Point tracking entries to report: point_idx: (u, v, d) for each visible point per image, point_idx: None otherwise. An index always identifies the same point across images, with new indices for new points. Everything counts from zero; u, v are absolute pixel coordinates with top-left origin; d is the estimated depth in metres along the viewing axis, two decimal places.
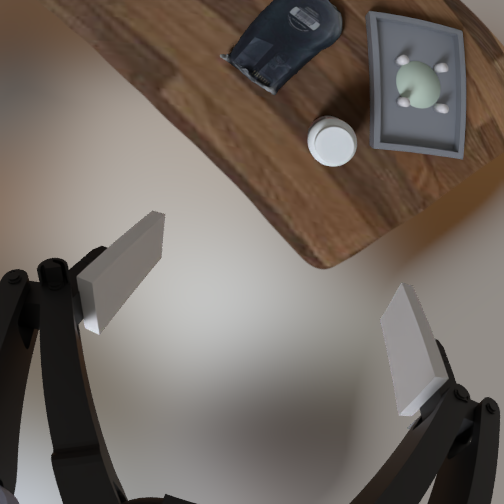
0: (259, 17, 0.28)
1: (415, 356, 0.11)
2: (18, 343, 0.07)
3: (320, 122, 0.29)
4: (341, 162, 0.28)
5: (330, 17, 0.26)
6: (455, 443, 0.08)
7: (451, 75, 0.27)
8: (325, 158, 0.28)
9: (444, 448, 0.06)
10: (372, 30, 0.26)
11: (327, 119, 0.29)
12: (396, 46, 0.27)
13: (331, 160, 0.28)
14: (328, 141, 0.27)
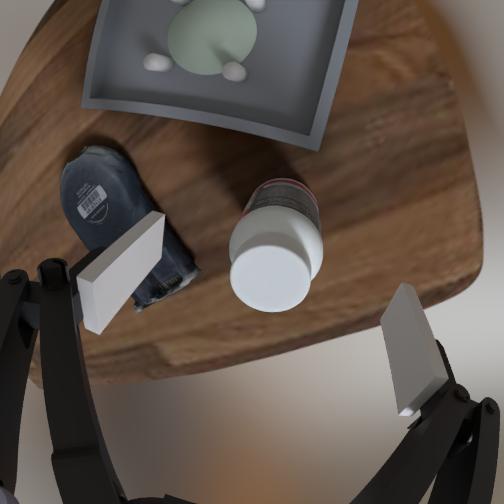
0: None
1: (415, 356, 0.11)
2: (18, 343, 0.07)
3: None
4: (306, 279, 0.14)
5: (89, 167, 0.21)
6: (455, 443, 0.08)
7: None
8: (290, 302, 0.15)
9: (444, 448, 0.06)
10: (108, 107, 0.18)
11: (229, 250, 0.17)
12: (141, 65, 0.18)
13: (297, 294, 0.15)
14: (258, 289, 0.15)
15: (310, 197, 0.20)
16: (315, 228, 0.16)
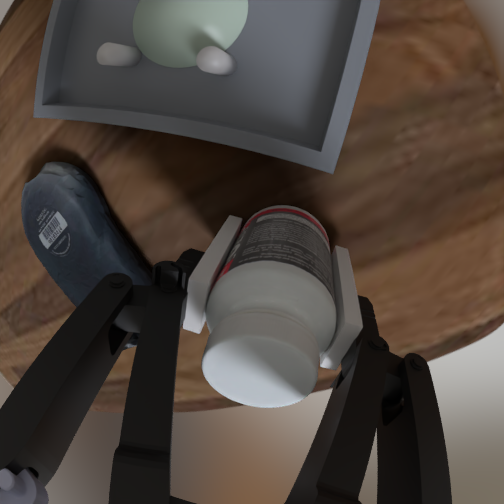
0: None
1: (336, 308, 0.13)
2: (104, 349, 0.09)
3: None
4: (311, 378, 0.09)
5: (46, 190, 0.16)
6: (387, 406, 0.10)
7: None
8: (286, 400, 0.10)
9: (375, 404, 0.08)
10: (61, 116, 0.14)
11: (206, 317, 0.12)
12: None
13: (296, 393, 0.10)
14: (241, 385, 0.10)
15: (320, 234, 0.15)
16: (327, 293, 0.11)
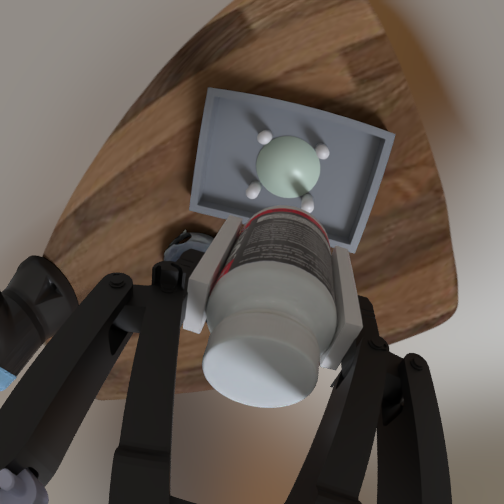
0: None
1: None
2: (104, 349, 0.09)
3: None
4: (311, 378, 0.09)
5: None
6: (387, 406, 0.10)
7: (277, 114, 0.27)
8: (287, 400, 0.10)
9: (374, 404, 0.08)
10: (214, 214, 0.31)
11: (207, 317, 0.12)
12: (236, 183, 0.31)
13: (297, 393, 0.10)
14: (242, 385, 0.10)
15: (320, 235, 0.15)
16: (327, 293, 0.11)
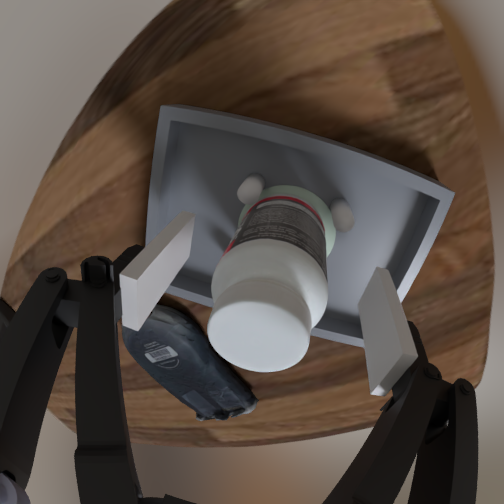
0: (157, 381, 0.29)
1: (386, 335, 0.12)
2: (50, 342, 0.08)
3: None
4: (303, 340, 0.11)
5: (158, 332, 0.24)
6: (431, 426, 0.09)
7: (272, 148, 0.17)
8: (283, 364, 0.12)
9: (420, 429, 0.07)
10: (177, 294, 0.22)
11: (212, 292, 0.14)
12: (208, 250, 0.21)
13: (291, 356, 0.11)
14: (242, 348, 0.12)
15: (314, 218, 0.16)
16: (318, 267, 0.13)
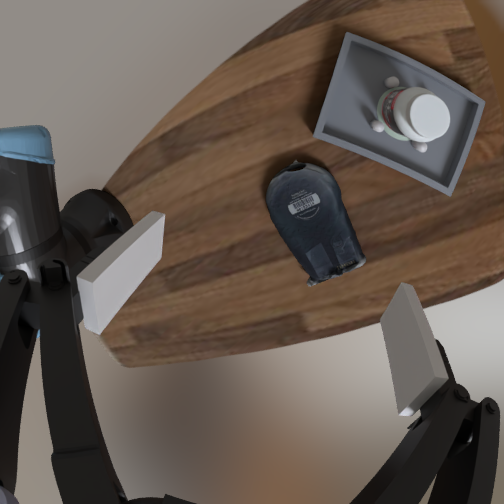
0: (286, 240, 0.38)
1: (415, 356, 0.11)
2: (18, 343, 0.07)
3: (397, 118, 0.23)
4: (448, 117, 0.19)
5: (311, 179, 0.33)
6: (455, 443, 0.08)
7: (398, 67, 0.26)
8: (440, 132, 0.20)
9: (444, 448, 0.06)
10: (337, 143, 0.31)
11: (395, 109, 0.23)
12: (357, 119, 0.30)
13: (444, 126, 0.20)
14: (424, 120, 0.20)
15: None
16: None
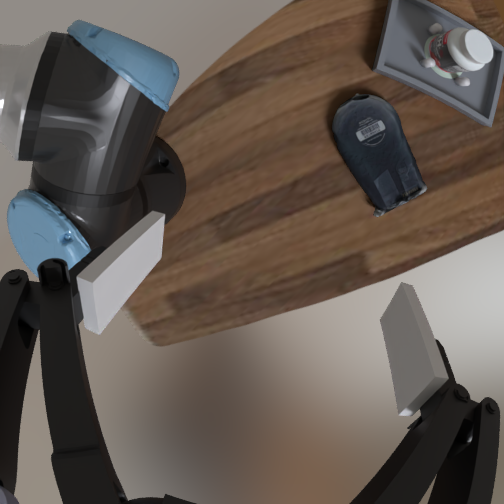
0: (354, 168, 0.36)
1: (415, 356, 0.11)
2: (18, 343, 0.07)
3: (451, 49, 0.21)
4: (491, 48, 0.17)
5: (376, 107, 0.31)
6: (455, 443, 0.08)
7: (436, 19, 0.24)
8: (488, 58, 0.18)
9: (444, 448, 0.06)
10: (397, 75, 0.28)
11: (449, 42, 0.21)
12: (409, 58, 0.28)
13: (489, 55, 0.18)
14: (475, 49, 0.18)
15: None
16: None
